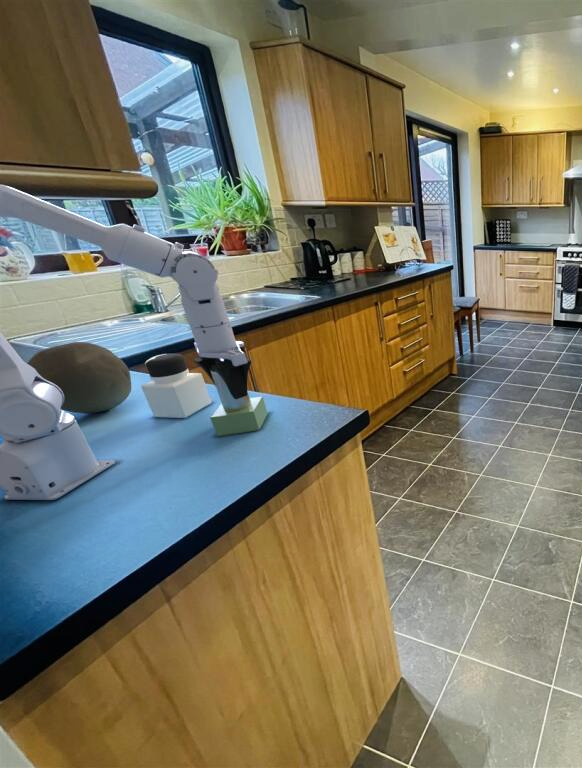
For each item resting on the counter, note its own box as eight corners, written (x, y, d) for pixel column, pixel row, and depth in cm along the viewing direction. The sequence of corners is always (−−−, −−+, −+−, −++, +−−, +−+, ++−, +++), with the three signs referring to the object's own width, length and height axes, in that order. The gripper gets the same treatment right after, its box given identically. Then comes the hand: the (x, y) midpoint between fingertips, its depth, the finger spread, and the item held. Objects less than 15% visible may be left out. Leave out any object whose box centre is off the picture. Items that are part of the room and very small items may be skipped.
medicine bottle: (213, 403, 87) (194, 350, 82) (185, 418, 81) (163, 363, 76) (183, 402, 88) (162, 350, 83) (153, 417, 81) (129, 362, 76)
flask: (241, 411, 74) (225, 364, 70) (218, 411, 74) (201, 364, 71) (256, 401, 78) (241, 355, 74) (234, 401, 78) (219, 355, 75)
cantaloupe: (107, 395, 92) (77, 332, 85) (158, 399, 89) (131, 334, 83) (29, 426, 79) (-13, 354, 73) (87, 431, 77) (48, 358, 70)
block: (259, 430, 76) (253, 411, 74) (217, 436, 74) (209, 417, 72) (267, 413, 82) (262, 396, 80) (228, 419, 80) (222, 401, 78)
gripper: (255, 323, 69) (275, 394, 75) (215, 313, 76) (236, 379, 82) (210, 333, 64) (235, 409, 69) (171, 322, 71) (197, 391, 76)
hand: (233, 393), depth 75 cm, fingers open, 5 cm apart
